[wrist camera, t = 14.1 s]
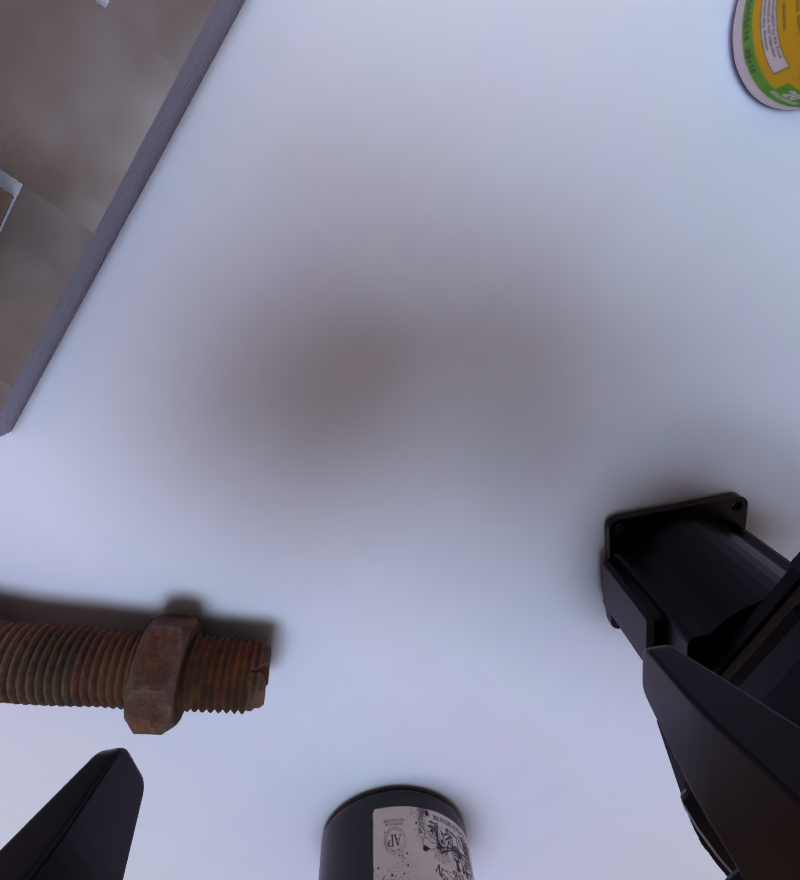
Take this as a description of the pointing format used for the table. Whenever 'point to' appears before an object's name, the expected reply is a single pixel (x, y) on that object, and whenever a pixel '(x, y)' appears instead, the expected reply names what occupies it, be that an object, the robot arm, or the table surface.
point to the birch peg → (4, 203)
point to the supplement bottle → (769, 50)
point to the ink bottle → (396, 840)
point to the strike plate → (82, 149)
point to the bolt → (132, 669)
